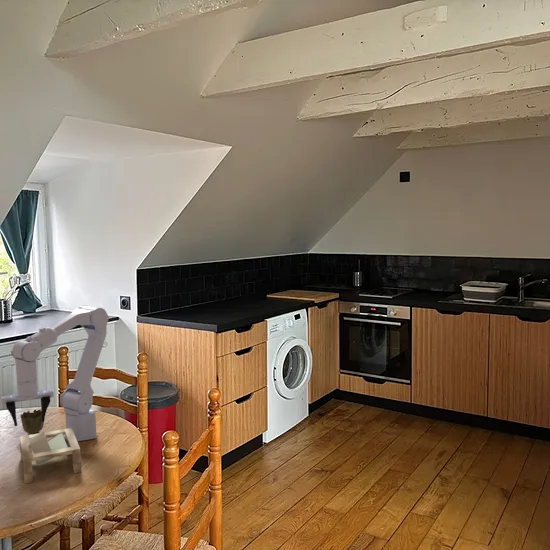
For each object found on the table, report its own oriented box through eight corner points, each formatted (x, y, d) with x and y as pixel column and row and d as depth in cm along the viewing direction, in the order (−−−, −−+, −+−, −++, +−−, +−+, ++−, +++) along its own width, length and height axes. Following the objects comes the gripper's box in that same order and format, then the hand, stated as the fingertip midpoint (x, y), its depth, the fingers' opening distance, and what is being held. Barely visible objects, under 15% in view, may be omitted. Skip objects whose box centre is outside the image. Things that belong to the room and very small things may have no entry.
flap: (67, 440, 176) (63, 432, 176) (73, 455, 166) (69, 446, 165) (37, 456, 173) (32, 447, 172) (40, 472, 162) (36, 462, 161)
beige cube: (49, 444, 170) (43, 431, 169) (51, 450, 166) (45, 437, 165) (34, 452, 168) (28, 439, 167) (36, 457, 164) (29, 444, 163)
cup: (22, 442, 186) (21, 418, 185) (21, 434, 192) (19, 411, 191) (46, 438, 189) (45, 414, 188) (44, 430, 196) (43, 408, 195)
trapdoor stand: (72, 449, 180) (71, 427, 179) (81, 471, 164) (80, 448, 164) (20, 458, 173) (19, 436, 173) (24, 483, 157) (23, 459, 157)
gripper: (1, 386, 166) (3, 431, 168) (53, 380, 173) (56, 423, 174) (0, 380, 172) (3, 423, 174) (51, 374, 179) (53, 415, 180)
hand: (29, 423), depth 174 cm, fingers open, 7 cm apart
